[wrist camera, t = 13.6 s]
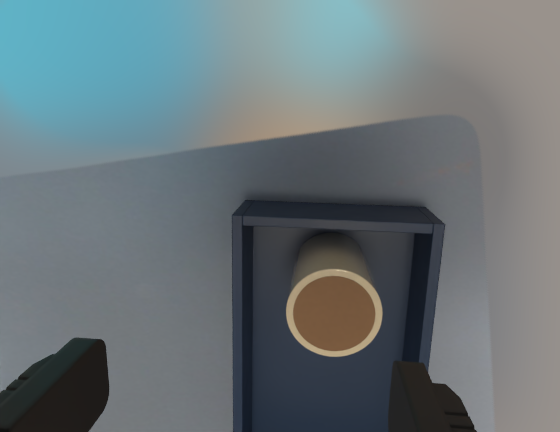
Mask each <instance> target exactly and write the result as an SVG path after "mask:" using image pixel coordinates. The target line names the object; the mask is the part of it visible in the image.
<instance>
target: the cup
mask: <svg viewBox="0 0 560 432" xmlns="http://www.w3.org/2000/svg"><path fill="white" fill-rule="evenodd" d="M382 316H383V311H382V304H381V300H380V297H379V294H378V291H377V288H376V285H375V282H374V278H373V275H372V272H371V269H370V266H369V263H368V260H367V257H366V255H365V253H364V251H363V249H362V248H361V246H360V245H359V244H358V243H357V242H356V241H354V240H353V239H351V238H350V237H348V236H345V235H342V234H339V233H323V234H319V235H316V236H314V237H312V238H310V239H309V240H307V241H306V242H305V243H304V244H303V245H302V246H301V247H300V249H299V250H298V252H297V254H296V257H295V260H294V266H293V271H292V277H291V283H290V288H289V294H288V300H287V306H286V318H287V323H288V326H289V328H290V331H291V332H292V334H293V336H294V337H295V338H296V339H297V341H298V342H299V343H300V344H302V345H303V346H304V347H305V348H307V349H309V350H310V351H312V352H314V353H317V354H320V355H323V356H329V357H341V356H347V355H350V354H353V353H356V352H358V351H360V350H361V349H363V348H365V347H366V346H367V345H368V344H369V343H370V342H371V341H372V340H373V339H374V338H375V336H376V335H377V333H378V331H379V329H380V326H381V323H382Z"/></svg>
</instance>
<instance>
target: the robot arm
mask: <svg viewBox="0 0 560 432" xmlns="http://www.w3.org/2000/svg"><path fill="white" fill-rule="evenodd" d="M108 396H109V379H108V367H107V355H106V346H105V343H104V341H103V340H101V339H89V338H73V339H72V340H70V341H69V342H68V343H67V344H66V345H65V346H64V347H63V348H62V349H60V350H59V351H58V352H57V353H56V354H52V355H50V356H48V357H46V358H44V359H42V360H40V361H39V362H37V363H35V364H33V365H32V366H31V367H29V368H28V369H27V370H26V371H25V372H24V373H22V374H21V375H20V376H19V377H18V380H14V381H13V382H12V383H11V384H10V385H9V386H8V387H7V388H6V390H3V391H2V392H1V393H0V432H88V431H89V430H90V429H91V427H92V426H93V425H94V423H95V422H96V420H97V419H98V418H99V416H100V415H101V414H102V412H103V411H104V409H105V406H106V404H107V401H108ZM388 429H389V432H477V431H476V430H475V429H474V425H473V423H472V421H471V419H470V417H468V413H467V411H466V409H465V407H464V405H463V403H462V401H461V399H460V397H459V396H458V395H456V394H455V393H454V392H453V391H452V390H451V389H450V388H449V387H448V386H447V385H446V384H437V383H432V381H431V379H430V376H429V374H428V372H427V369H426V367H425V365H424V363H422V362H408V361H394V362H393V367H392V376H391V387H390V398H389V408H388Z"/></svg>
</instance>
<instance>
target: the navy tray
mask: <svg viewBox="0 0 560 432" xmlns="http://www.w3.org/2000/svg"><path fill="white" fill-rule="evenodd" d="M444 230H445V224H444V223H443V222H442V221H441V220H440V219H438V218H437V217H436V216H435V215H434V214H433V213H432V212H431V211H429V210H428V209H427V208H426V207H408V206H383V205H357V204H332V203H306V202H281V201H255V200H245V201H244V202H243V203H242V205H241V206H240V207H239V208H238V209H237V210H236V211H235V213H234V214H233V215H232V305H233V432H389V429H388V408H389V398H390V387H391V376H392V367H393V362H394V361H408V362H422V363H424V365H425V367H426V369H427V372H428V367H429V358H430V350H431V341H432V332H433V324H434V315H435V307H436V298H437V290H438V281H439V272H440V264H441V255H442V247H443V238H444ZM323 233H339V234H342V235H345V236H348V237H350V238H351V239H353V240H354V241H356V242H357V243H358V244H359V245H360V246H361V248H362V249H363V251H364V253H365V255H366V257H367V260H368V263H369V266H370V269H371V272H372V275H373V278H374V282H375V285H376V288H377V291H378V294H379V297H380V300H381V304H382V311H383V316H382V323H381V326H380V329H379V331H378V333H377V335H376V336H375V338H374V339H373V340H372V341H371V342H370V343H369V344H368V345H367V346H366V347H365V348H363V349H361V350H360V351H358V352H356V353H353V354H350V355H347V356H341V357H329V356H323V355H320V354H317V353H314V352H312V351H310V350H309V349H307V348H305V347H304V346H303V345H302V344H300V343H299V342H298V341H297V339H296V338H295V337H294V336H293V334H292V332H291V331H290V328H289V326H288V323H287V318H286V306H287V300H288V294H289V288H290V283H291V277H292V271H293V266H294V260H295V257H296V254H297V252H298V250H299V249H300V247H301V246H302V245H303V244H304V243H305V242H306V241H307V240H309V239H310V238H312V237H314V236H316V235H319V234H323Z"/></svg>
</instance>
